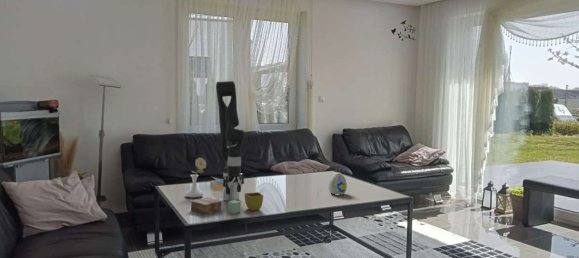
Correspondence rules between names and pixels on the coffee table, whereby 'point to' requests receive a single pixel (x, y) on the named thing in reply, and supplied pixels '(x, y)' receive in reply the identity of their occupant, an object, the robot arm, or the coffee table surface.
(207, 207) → the walnut box
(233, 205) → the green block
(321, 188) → the coffee table surface
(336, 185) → the decorative egg
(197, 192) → the flower in vase
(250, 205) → the flower pot
